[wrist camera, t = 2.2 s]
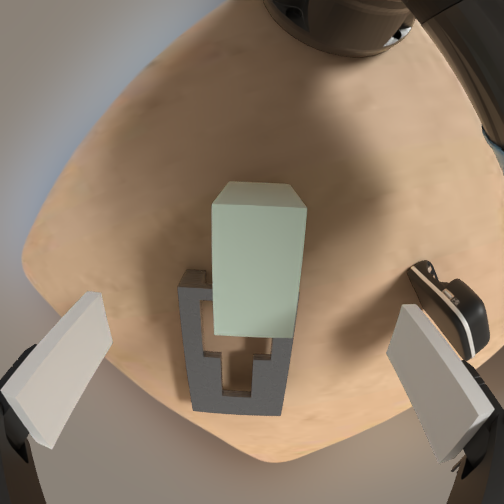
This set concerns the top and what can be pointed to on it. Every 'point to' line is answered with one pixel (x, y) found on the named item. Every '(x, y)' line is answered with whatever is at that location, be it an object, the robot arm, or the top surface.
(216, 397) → the keyhole plate
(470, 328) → the battery charger
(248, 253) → the pale green boxy piece
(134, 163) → the top surface
